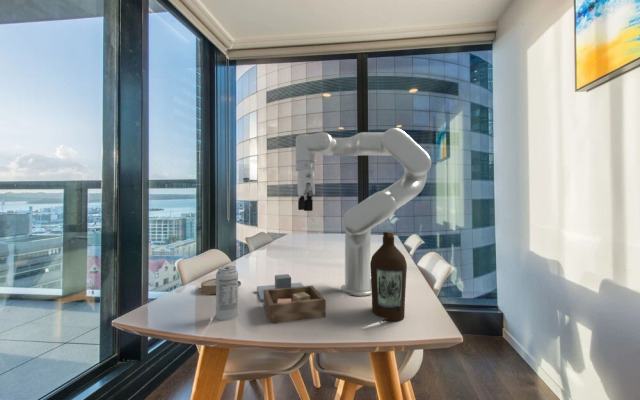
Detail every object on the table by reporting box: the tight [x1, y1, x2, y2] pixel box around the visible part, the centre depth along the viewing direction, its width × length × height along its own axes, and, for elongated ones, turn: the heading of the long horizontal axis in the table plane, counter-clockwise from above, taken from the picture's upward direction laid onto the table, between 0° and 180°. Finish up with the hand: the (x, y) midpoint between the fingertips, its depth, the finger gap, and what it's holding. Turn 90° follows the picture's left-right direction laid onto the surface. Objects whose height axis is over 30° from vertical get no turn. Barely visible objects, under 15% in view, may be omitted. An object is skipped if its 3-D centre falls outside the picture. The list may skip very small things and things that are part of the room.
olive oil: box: [370, 231, 408, 323], centre depth 87 cm, size 11×11×25 cm
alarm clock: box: [197, 277, 242, 295], centre depth 111 cm, size 11×5×15 cm
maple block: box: [293, 292, 310, 301], centre depth 91 cm, size 4×4×4 cm
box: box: [263, 285, 327, 325], centre depth 88 cm, size 16×14×6 cm
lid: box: [256, 273, 304, 303], centre depth 105 cm, size 17×15×7 cm
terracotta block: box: [278, 299, 291, 303], centre depth 85 cm, size 4×4×4 cm
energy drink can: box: [215, 265, 239, 321], centre depth 84 cm, size 6×6×15 cm
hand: (305, 210), depth 115 cm, fingers open, 9 cm apart
